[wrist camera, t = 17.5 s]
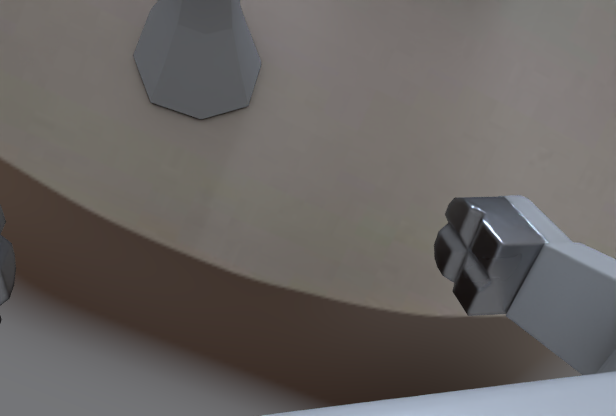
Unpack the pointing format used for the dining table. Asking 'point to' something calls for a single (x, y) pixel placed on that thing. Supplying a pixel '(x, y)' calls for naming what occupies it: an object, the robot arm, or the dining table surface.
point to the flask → (197, 57)
